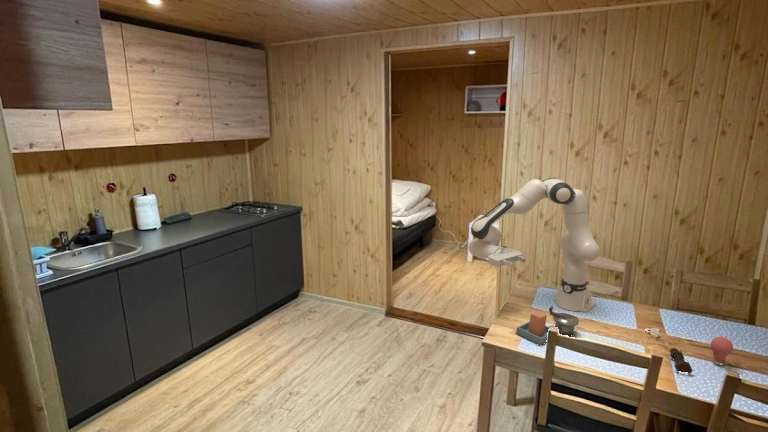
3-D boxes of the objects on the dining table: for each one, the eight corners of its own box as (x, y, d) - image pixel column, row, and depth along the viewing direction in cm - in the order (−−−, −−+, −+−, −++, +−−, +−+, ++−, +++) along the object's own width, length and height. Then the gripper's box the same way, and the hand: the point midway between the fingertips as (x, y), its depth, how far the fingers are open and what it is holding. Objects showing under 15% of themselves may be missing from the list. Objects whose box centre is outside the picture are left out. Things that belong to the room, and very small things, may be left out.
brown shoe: (674, 359, 178) (684, 378, 164) (663, 351, 179) (672, 369, 165) (684, 350, 175) (695, 368, 162) (673, 342, 177) (683, 359, 163)
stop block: (534, 330, 194) (536, 310, 191) (544, 335, 190) (546, 315, 187) (528, 333, 191) (530, 313, 188) (537, 338, 187) (540, 317, 185)
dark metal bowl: (579, 331, 195) (582, 310, 193) (573, 341, 187) (576, 319, 184) (550, 322, 203) (553, 302, 201) (543, 331, 195) (546, 310, 192)
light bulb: (702, 359, 175) (708, 333, 172) (718, 359, 175) (724, 333, 172) (716, 369, 168) (723, 342, 165) (733, 369, 168) (739, 342, 166)
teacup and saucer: (642, 330, 199) (643, 322, 198) (662, 334, 195) (663, 326, 194) (644, 338, 191) (645, 330, 190) (664, 343, 188) (666, 335, 187)
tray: (532, 326, 199) (533, 319, 198) (556, 337, 189) (557, 330, 188) (516, 334, 192) (516, 327, 191) (540, 346, 182) (541, 339, 181)
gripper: (482, 252, 202) (505, 260, 191) (508, 245, 214) (532, 252, 203) (481, 264, 203) (504, 273, 193) (507, 257, 215) (530, 265, 204)
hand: (519, 262), depth 198 cm, fingers open, 8 cm apart
